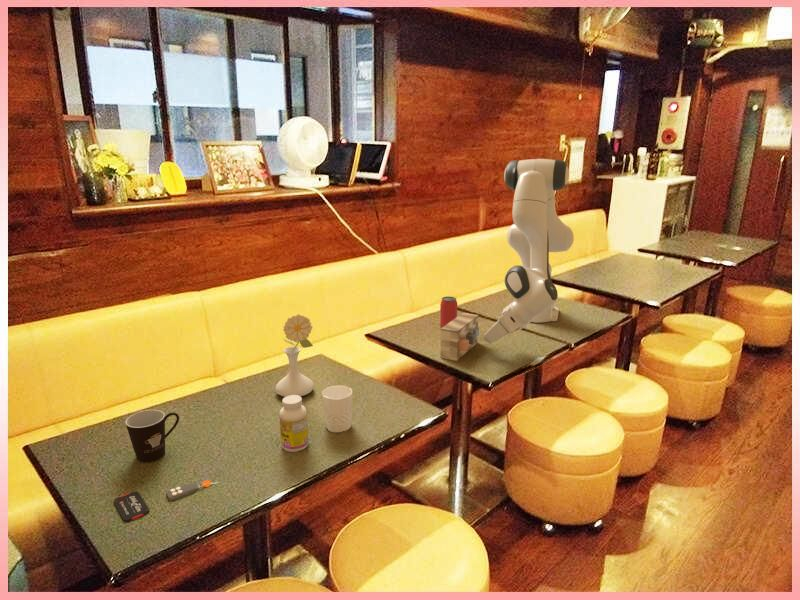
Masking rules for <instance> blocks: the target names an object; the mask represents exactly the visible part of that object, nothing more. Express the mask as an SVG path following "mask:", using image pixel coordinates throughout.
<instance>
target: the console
mask: <svg viewBox="0 0 800 600" xmlns="http://www.w3.org/2000/svg"><path fill="white" fill-rule="evenodd" d="M475 327H479V314H475V313H474V314H473V313H467V312H462V313H461V314H459V315H457V317H456V318H455V319H454V320H452V321H451V322H449V323H448V324H447V325H445V326H444V327H442V328H441V327H440V358H441V359H445V360H450V361H456V362H458V361H459V359H460V358H461V357H463V356H464V355H465V354H466V353H468V352H469V350H471V349H472V348H473V347H474V346H475V345H477V344H478V342H479V341H478V339H479V338H478V337H479V336H477V337H476V342H475V343H474V344H473V345H471V344H469V348H468V349H467V350H466V351H462V350H458V341H459V340H460V339H466V335H467V334H468V333H473V329H474V328H475Z"/></svg>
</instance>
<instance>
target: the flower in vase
mask: <svg viewBox="0 0 800 600" xmlns="http://www.w3.org/2000/svg"><path fill="white" fill-rule="evenodd" d="M312 330H313V325H312V322H311V320H310V318H308V317H307V316H306V315H301V314H300V313H299V314H296V315H292V316H291V317H288V318H287V321H285V323H284V326H283V331H284V335H285V338H286V339H285V338H284V337H283V338H282V339H283V341H284V342H286V343H287V344H290V345H292V346H287V347H285V348H283V352H284V353H285V355H286V356H287V359H288V362H289V363H288V365H289V371H288V373H287V375H286V376H284V377H283V378H281V379H280V380H278V382H277V383H276V386H275V389H274V390H275V392H276V393H277V394H278V395H280V396H281V397H283V398H284V397H286V396H289V395H298V396H300V397H303V396H306V395H308V394H310V393H311V392H312V391H313V390H314V389H315V383H314V382H313V381H312V380H311V379H310V378H309V377H307V376H306V375H304V374H302V373H300V371H299V369H298V357H299V354H300V352H301V350H302V348H305V349H306V348H311V347H313V346H314V345H313V344H312V342H311V341H310V340H309V339H308V338H309V336H310V334H311V332H312ZM293 342H294V343H293ZM295 343H296V344H295ZM299 344H300V346H301V347H302V348H301V347H299V346H298V345H299Z"/></svg>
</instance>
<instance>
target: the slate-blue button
mask: <svg viewBox="0 0 800 600" xmlns="http://www.w3.org/2000/svg"><path fill="white" fill-rule="evenodd" d="M473 333H474V334H476V337H477V336H478V337H479V335H480V327H479V326H478V327H475V328H474V329H473Z"/></svg>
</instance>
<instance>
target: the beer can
mask: <svg viewBox="0 0 800 600" xmlns="http://www.w3.org/2000/svg"><path fill="white" fill-rule="evenodd" d="M439 313H440V314H439V317H440V318H439V327H440V329H441V328H442V327H444V326H445V325H447V324H448V323H449V322H451V321H452V320H454V319H455V318H456V317H458V301H457V298H456V297H453V296H443V297H442V298H441V300H440V312H439Z"/></svg>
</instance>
